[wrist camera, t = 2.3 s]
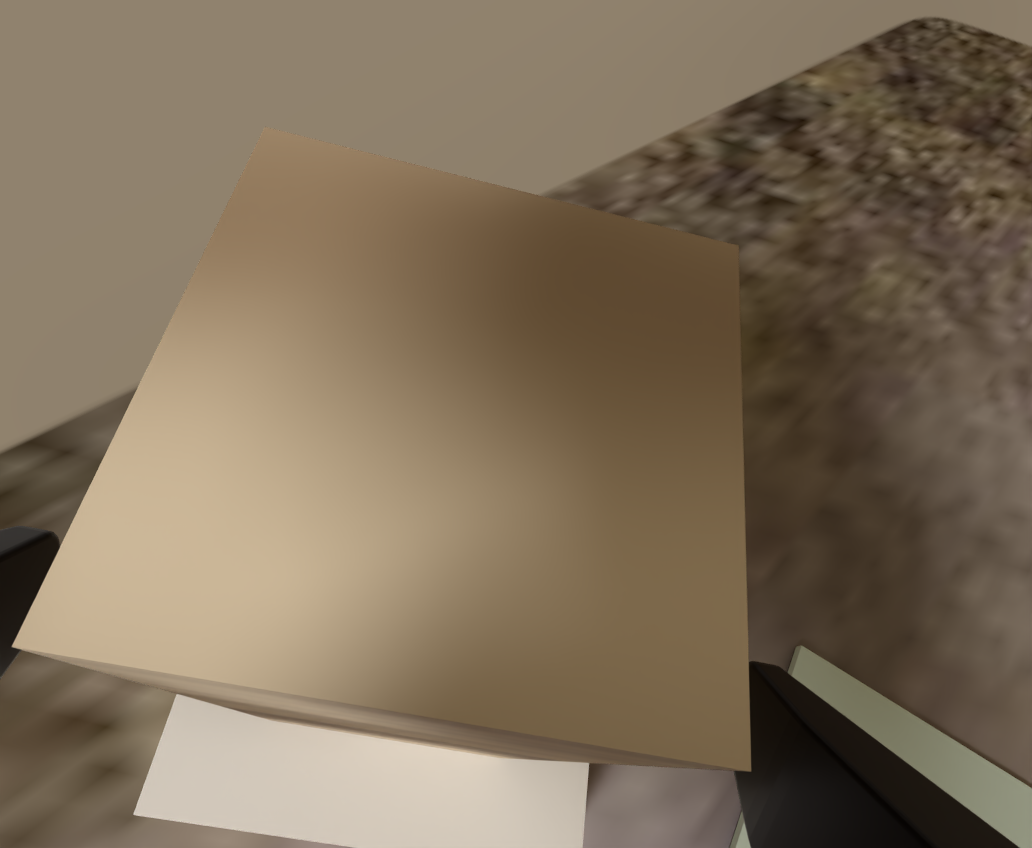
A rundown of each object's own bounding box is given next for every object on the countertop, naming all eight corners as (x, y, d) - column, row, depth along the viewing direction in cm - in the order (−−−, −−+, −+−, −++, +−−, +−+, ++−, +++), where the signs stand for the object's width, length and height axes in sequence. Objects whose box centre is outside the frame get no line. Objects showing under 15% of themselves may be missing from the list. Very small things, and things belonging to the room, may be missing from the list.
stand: (547, 860, 16) (579, 880, 14) (176, 803, 15) (133, 814, 13) (581, 518, 20) (611, 483, 18) (291, 459, 20) (277, 413, 17)
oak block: (500, 758, 14) (751, 771, 5) (270, 720, 14) (11, 646, 4) (530, 539, 17) (739, 245, 7) (334, 500, 16) (264, 126, 6)
